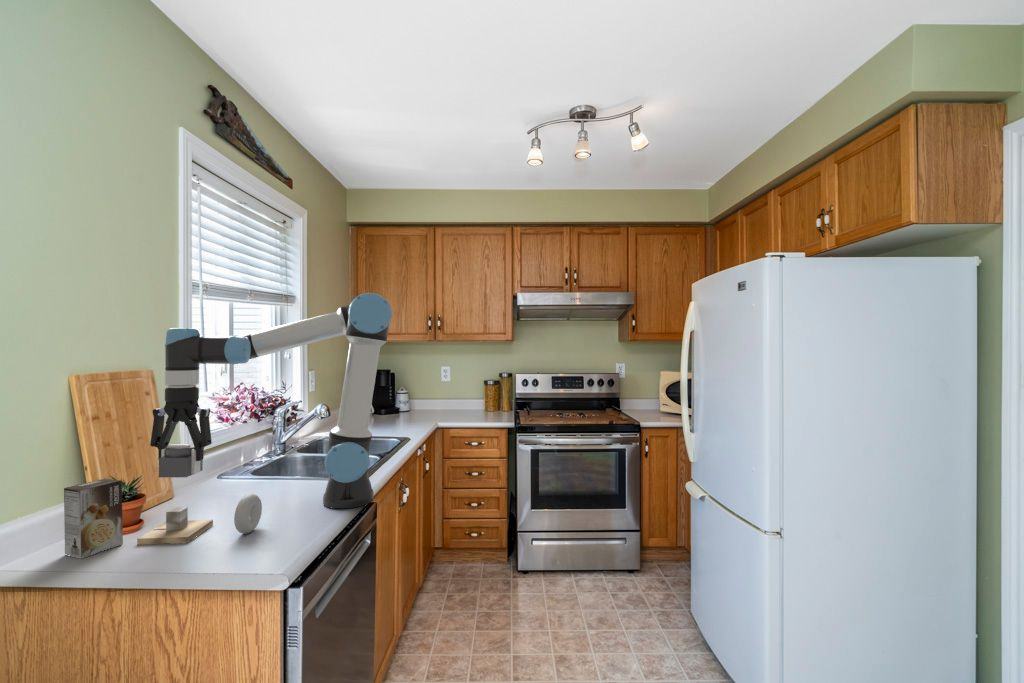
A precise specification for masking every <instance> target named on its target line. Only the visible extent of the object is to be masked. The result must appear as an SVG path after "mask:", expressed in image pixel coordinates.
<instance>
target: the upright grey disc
mask: <svg viewBox="0 0 1024 683" xmlns="http://www.w3.org/2000/svg"><path fill="white" fill-rule="evenodd" d="M262 505H263V503H262V500H261V498H260V497H259V495H257V494H255V493H249V494H248V493H247V494H246V495H244V496H243V497H242V498H240V500H239V502H238V503H237V505H236V508H235V512H234V516H233V518H234V519H233V521H234V527H235V529H236V530H237V532H239V533H240V534H244V535H247V534H250V533H251V532H253V531H254V530H255V529H256V528H257V526H258V524H259V522H260V519H261V518H262V510H263V506H262Z"/></svg>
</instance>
